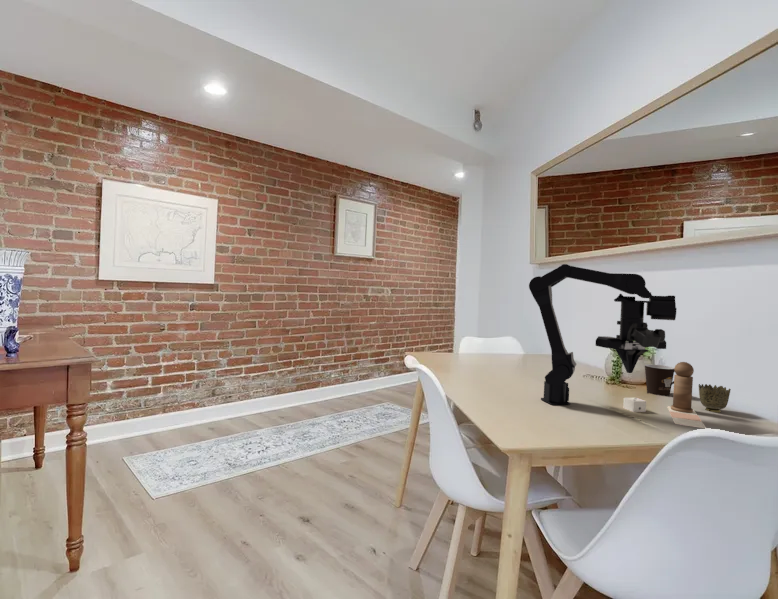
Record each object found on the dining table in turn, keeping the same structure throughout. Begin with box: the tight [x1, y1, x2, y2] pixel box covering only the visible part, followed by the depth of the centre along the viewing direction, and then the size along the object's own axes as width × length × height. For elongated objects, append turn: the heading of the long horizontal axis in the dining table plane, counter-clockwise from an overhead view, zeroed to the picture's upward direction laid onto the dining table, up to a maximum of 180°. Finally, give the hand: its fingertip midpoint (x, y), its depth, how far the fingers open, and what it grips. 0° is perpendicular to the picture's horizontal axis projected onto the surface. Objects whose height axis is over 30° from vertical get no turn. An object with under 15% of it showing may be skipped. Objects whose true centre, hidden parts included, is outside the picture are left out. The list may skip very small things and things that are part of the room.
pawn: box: [671, 361, 695, 414], centre depth 123 cm, size 5×5×14 cm
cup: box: [698, 383, 731, 413], centre depth 124 cm, size 8×7×8 cm
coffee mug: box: [644, 363, 675, 397], centre depth 144 cm, size 12×9×10 cm
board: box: [666, 405, 707, 429], centre depth 117 cm, size 21×8×1 cm, turn 151°
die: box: [622, 397, 647, 413], centre depth 121 cm, size 4×4×4 cm
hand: (629, 372), depth 121 cm, fingers closed
